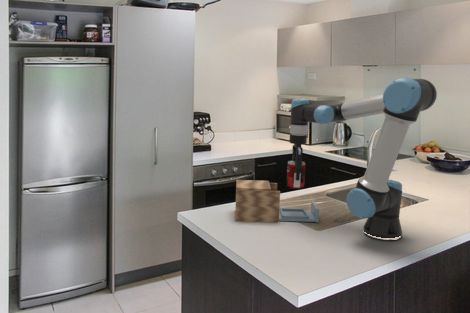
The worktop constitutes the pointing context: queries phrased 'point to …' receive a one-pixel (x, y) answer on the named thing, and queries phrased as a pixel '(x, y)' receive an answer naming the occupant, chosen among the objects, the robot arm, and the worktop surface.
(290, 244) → the worktop surface
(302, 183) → the canned food
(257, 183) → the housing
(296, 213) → the tray
